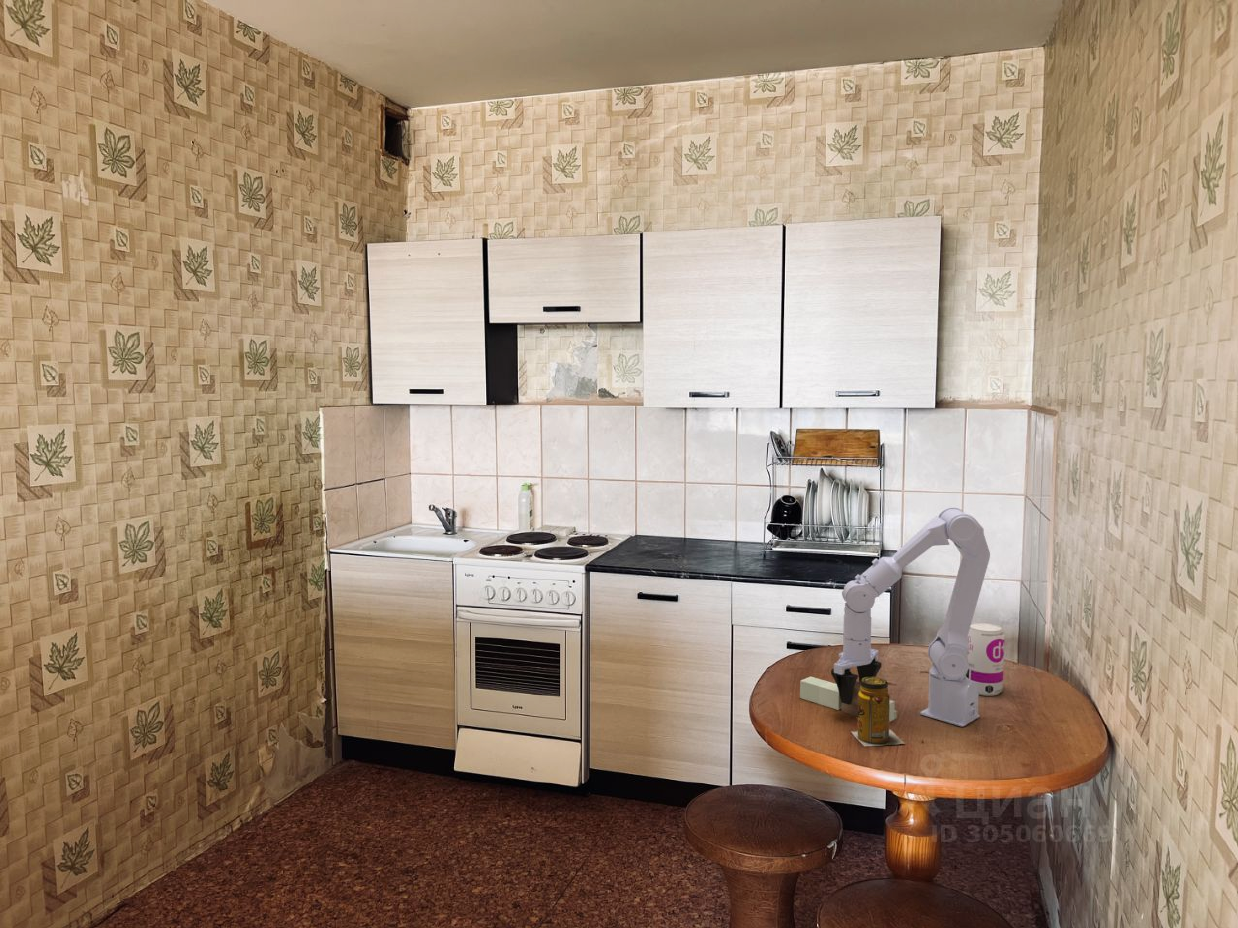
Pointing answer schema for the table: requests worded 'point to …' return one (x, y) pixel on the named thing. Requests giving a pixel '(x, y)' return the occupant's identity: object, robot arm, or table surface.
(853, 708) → the walnut key block
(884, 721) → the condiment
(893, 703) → the sage bar
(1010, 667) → the table surface
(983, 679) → the supplement can
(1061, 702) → the table surface
